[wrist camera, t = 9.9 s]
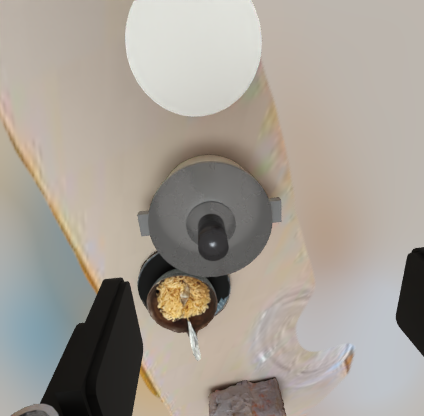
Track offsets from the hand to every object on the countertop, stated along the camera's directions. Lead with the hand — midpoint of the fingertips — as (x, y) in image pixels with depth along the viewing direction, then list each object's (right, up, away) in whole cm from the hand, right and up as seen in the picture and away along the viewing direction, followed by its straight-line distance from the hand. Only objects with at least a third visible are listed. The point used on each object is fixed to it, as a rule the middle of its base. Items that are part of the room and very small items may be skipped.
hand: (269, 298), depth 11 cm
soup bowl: (-7, -10, +41) cm, 43 cm away
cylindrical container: (-4, +21, +29) cm, 36 cm away
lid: (-2, +2, +29) cm, 29 cm away
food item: (+4, -33, +51) cm, 60 cm away
